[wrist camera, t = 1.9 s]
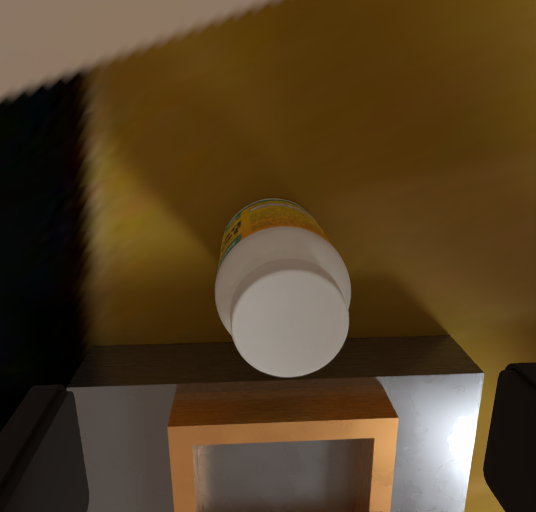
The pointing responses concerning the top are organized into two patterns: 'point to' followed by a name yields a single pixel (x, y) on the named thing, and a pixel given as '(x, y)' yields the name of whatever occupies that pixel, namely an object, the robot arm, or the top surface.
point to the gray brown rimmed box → (278, 429)
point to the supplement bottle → (282, 289)
